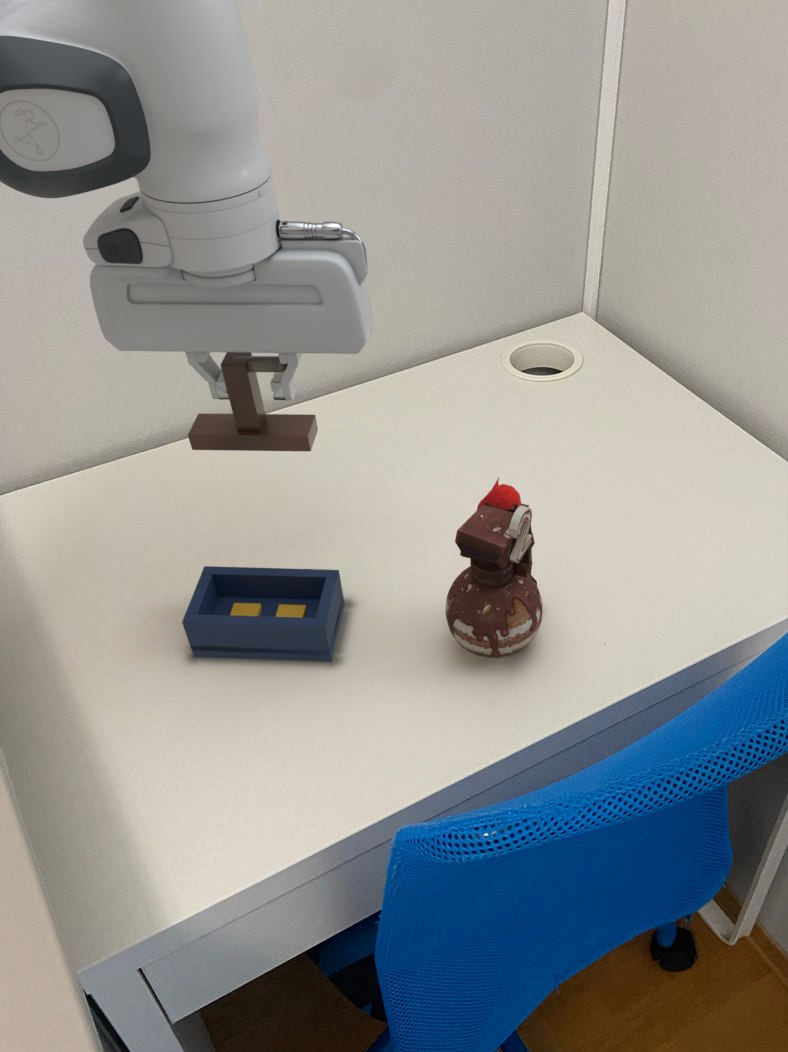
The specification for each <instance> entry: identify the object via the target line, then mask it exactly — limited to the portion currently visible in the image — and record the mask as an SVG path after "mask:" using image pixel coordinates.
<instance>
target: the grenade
mask: <svg viewBox="0 0 788 1052" xmlns="http://www.w3.org/2000/svg"><path fill="white" fill-rule="evenodd" d="M499 480H500V477H497V480H496V481H495V483H494V485H493V487H492V488H491V490H489V492H488V493H487V494H486V495H485V496H484V497H483V498H482V499H480V501H479V503H478V504H477V508H476V511H475V512H474V513H472V515H471V516H470V517H469V518H467V520H466V521H465V522H464V523H463V524H462V525H460V527H458V528H457V530H456V535H455V538H454V542H455V545H456V546H457V547H458V549H459V552H460V553H459V556H460V557H463V558H465V559H466V558H467V559H469V561H470V562H469V563H470V564H469V565H470V566H468V567H467V568H465V569H464V570H462V571H461V573H460V574H458V575H457V577H456V578H455V579H454V581H453V582H452V583H451V586H450V588H449V590H448V592H447V595H446V601H445V617H446V618H445V619H446V622H447V625H448V630H449V632H450V635H452V637H453V639H454V640H455V642H457V643H458V644H459V645H460V646H461V647H462V649H464V650H466V651H467V652H470V654H474V655H475V656H478V657H482V658H486V659H501V658H507V657H510V656H512V655H515V654H517V653H520V652H521V651H522V650H524V649H526V648H527V647H528V645H529V644H531V642H532V641H533V640H534V638H536V636H537V634H538V632H539V629H540V626H541V623H542V619H543V597H542V595H541V593H540V589H539V587H538V581H537V580H536V579H535V578H534V577H533V575H532V569H533V556H532V555H533V551H532V548H533V547H534V546H535V538H534V533H533V531H532V520H533V519H532V518H533V510H532V508H531V507H530V506H531V505H529V504H525V503H522V500H521V495H520V493H519V491H518V490H517V489H516V488H515V487H514V486H513V485H509V484H506V483H502V484H499Z"/></svg>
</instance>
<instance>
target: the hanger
mask: <svg viewBox="0 0 788 1052" xmlns="http://www.w3.org/2000/svg"><path fill="white" fill-rule="evenodd" d="M287 365H288V363H287V364H281V363H280V359H279V355H253V353H239V352H225V355H224V356H223V359H222V361H221V362H220V368H221V370H222V373H223V377H224V381H225V385H226V389H227V393H228V396H229V399H228V400H229V404H230V408H231V411H232V413H198V414H197V415H196V417H195V420H194V421H193V424H192V425H191V427H190V430H189V431H188V433H187V438H188V441H189V444H190V448H191V450H192V451H233V452H234V451H235V452H236V451H237V452H238V451H239V452H242V451H243V452H245V451H246V452H312V449H313V446H314V442H315V440H316V436H317V435H318V430H319V427H318V422H317V418H316V414H302V413H301V414H300V413H299V414H296V413H295V414H292V413H291V414H288V413H285V414H284V413H266V410H265V405H264V401H263V397H262V393H261V388H260V384H259V379H258V375H257V373H275V372H284V371H285V370H286V368H287Z"/></svg>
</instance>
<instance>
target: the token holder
mask: <svg viewBox="0 0 788 1052" xmlns="http://www.w3.org/2000/svg"><path fill="white" fill-rule="evenodd" d="M345 606H346V603H345V597H344V591H343V585H342V580H341V574H340V570H339V569H317V568H287V567H286V568H285V567H284V568H281V567H280V568H279V567H251V566H250V567H248V566H247V567H243V566H210V565H209V566H208V565H204V566H203V567H202V571H201V574H200V576H199V579H198V581H197V584H196V586H195V589H194V591H193V594H192V595H191V598H190V601H189V603H188V606H187V609H186V611H185V613H184V615H183V618H182V621H181V624H182V626H183V629H184V630H183V631H184V632H185V636H186V638H187V640H188V644H189V647H190V650H191V652H192V655H193V657H195V658H218V659H219V658H220V659H222V658H223V659H245V660H247V659H251V660H280V661H306V662H307V661H311V662H333V661H332V660H333V656H334V652H335V649H336V644H337V640H338V635H339V632H340V627H341V624H342V618H343V615H344V610H345Z"/></svg>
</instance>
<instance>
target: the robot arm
mask: <svg viewBox="0 0 788 1052" xmlns="http://www.w3.org/2000/svg"><path fill="white" fill-rule="evenodd" d="M259 103H260V102H259V95H258V87H257V83H256V78H255V72H254V67H253V62H252V57H251V53H250V48H249V43H248V39H247V36H246V31H245V27H244V23H243V20H242V16H241V12H240V9H239V5H238V3H237V0H0V183H2V184H4V185H5V186H6V187H9V188H11V189H13V190H14V191H17V192H20V193H21V194H25V195H27V196H30V197H31V196H32V197H35V198H41V199H61V198H67V197H72V196H76V195H81V194H86V193H89V192H93V191H97V190H101V189H103V188H106V187H107V188H108V187H110V186H113V185H116V184H119V183H122V182H125V181H127V180H130V179H132V178H134V179H136V181H137V184H138V188H139V190H138V191H136V192H134V193H130V194H128V195H125V196H122V197H120V198H118V199H116V200H114V201H113V202H112V203H111V204H109V205H108V206H107V207H105V209H104V210H103V211H102V212H101V213H100V214H99V215H98V216H97V217H96V218H95V219H94V221H93V222H92V223H91V225H90V226H89V228H88V229H87V231H86V232H85V234H84V236H83V238H82V243H83V248H84V251H85V253H86V255H87V257H88V259H89V260H90V261H91V262H92V263H94V266H93V267H92V269H91V271H90V275H89V288H90V293H91V298H92V304H93V308H94V311H95V315H96V318H97V322H98V324H99V328H100V330H101V333H102V335H103V338H104V339H105V340H106V341H107V343H109V344H110V345H111V346H112V347H114V348H115V349H116V350H118V351H119V352H159V353H160V352H161V353H162V352H164V353H165V352H166V353H167V352H168V353H172V352H173V353H185V356H186V359H187V362H188V365H190V366H191V367H192V368H193V370H194V371H195V372H196V373H197V374H198V375H199V376H200V377H201V378H202V379H203V380H204V381H205V382H207V383H208V387H209V391H210V394H211V395H210V396H211V398H212V400H224V401H225V400H229V396H228V393H227V389H226V385H225V381H224V377H223V373H222V369H221V366H219V365H218V363H217V362H216V361H215V360H214V358H213V357H212V356H211V353H227V352H239V353H252V354H278V355H277V356H279V359H280V363H281V364H287V363H288V365H287V368H286V370H285V371H284V372H273V377H272V378H271V380H270V383H269V384H270V388H271V391H272V392H273V394H272V397H273V400H274V401H294V399H295V396H296V393H297V386H296V379H295V373H296V371H297V368H298V365H299V364H300V361H301V358H302V356H303V354H323V355H325V354H329V355H357V354H359V353H361V352H362V351H363V350H364V348H365V347H366V346H367V345H368V343H369V341H370V339H371V336H372V333H373V327H374V318H373V312H372V311H373V310H372V306H371V300H370V296H369V291H368V289H367V285H366V281H365V280H366V279H367V276H368V273H369V263H368V254H367V247H366V245H365V242H364V241H363V239H362V237H360V235H358V234H357V233H356V232H355V231H354V230H352V229H349V228H347V227H344V225H343V224H342V223H341V222H338V221H331V220H330V221H322V222H309V221H300V220H299V221H298V220H294V221H293V220H290V221H289V220H281V219H280V213H279V208H278V202H277V195H276V190H275V185H274V184H275V183H274V180H273V179H274V178H273V173H272V170H271V164H270V161H269V158H268V156H267V154H266V152H265V149H264V147H263V145H262V143H261V138H260V135H259V126H258V120H259V119H258V116H259V106H260V104H259ZM344 235H346V236H344Z"/></svg>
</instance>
